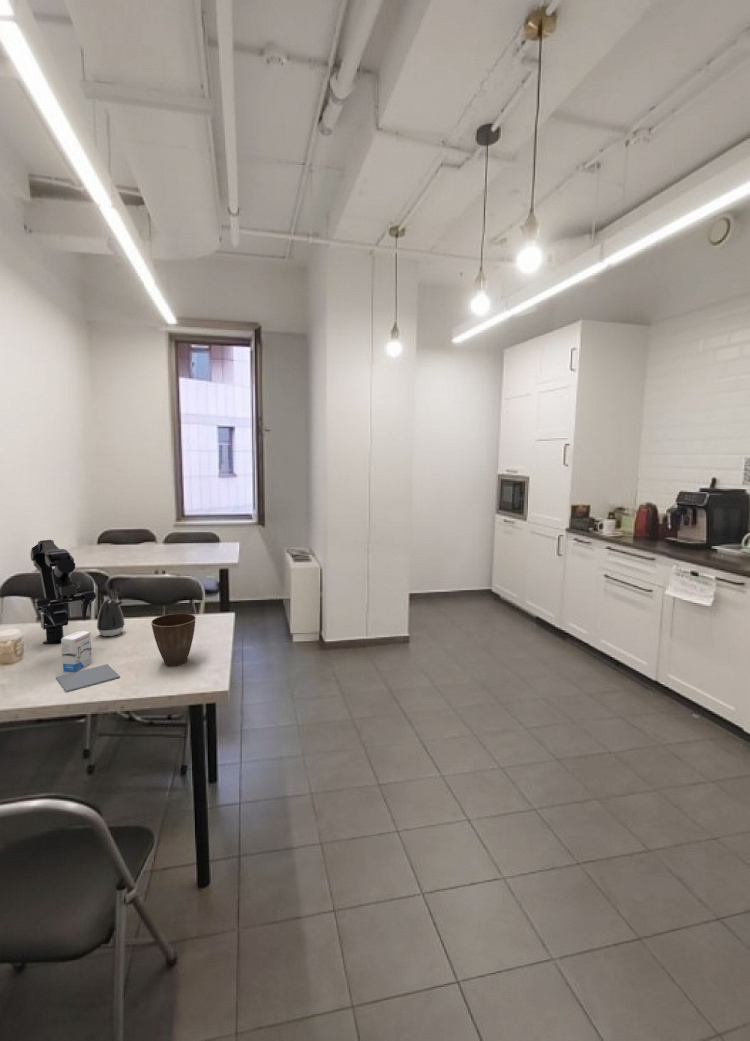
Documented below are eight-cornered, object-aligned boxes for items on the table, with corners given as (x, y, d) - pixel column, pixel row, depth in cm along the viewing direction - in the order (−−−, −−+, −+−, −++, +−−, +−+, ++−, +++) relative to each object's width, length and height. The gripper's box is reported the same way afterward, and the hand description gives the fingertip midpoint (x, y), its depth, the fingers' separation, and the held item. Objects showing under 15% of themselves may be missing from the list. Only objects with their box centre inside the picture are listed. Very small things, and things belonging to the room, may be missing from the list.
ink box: (74, 672, 178) (72, 639, 176) (62, 670, 179) (60, 638, 177) (93, 662, 186) (91, 631, 185) (81, 661, 187) (79, 630, 186)
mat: (55, 678, 173) (55, 676, 173) (107, 665, 184) (107, 663, 184) (66, 692, 163) (66, 690, 163) (120, 677, 173) (120, 676, 173)
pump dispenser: (117, 639, 210) (115, 602, 208) (92, 638, 210) (90, 602, 208) (130, 630, 220) (128, 596, 218) (105, 630, 220) (103, 595, 218)
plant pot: (143, 666, 183) (141, 623, 181) (173, 651, 197) (171, 611, 195) (177, 673, 178) (175, 628, 176) (205, 657, 192) (204, 615, 190)
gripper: (35, 579, 178) (43, 622, 174) (95, 571, 191) (103, 611, 187) (31, 589, 186) (38, 631, 182) (88, 581, 198) (96, 619, 194)
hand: (70, 622), depth 186 cm, fingers open, 9 cm apart
